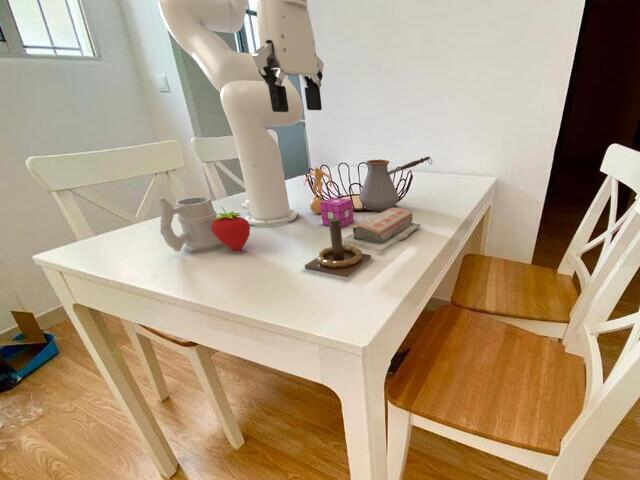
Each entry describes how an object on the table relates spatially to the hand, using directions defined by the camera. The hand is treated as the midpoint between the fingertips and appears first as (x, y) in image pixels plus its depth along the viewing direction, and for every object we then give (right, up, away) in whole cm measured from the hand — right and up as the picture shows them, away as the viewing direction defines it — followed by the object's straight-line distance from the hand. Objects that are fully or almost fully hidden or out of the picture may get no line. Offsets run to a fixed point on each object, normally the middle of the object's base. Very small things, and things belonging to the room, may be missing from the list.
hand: (298, 110), depth 65 cm
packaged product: (+15, -22, +15) cm, 31 cm away
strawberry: (-15, -26, +7) cm, 31 cm away
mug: (-24, -26, +8) cm, 36 cm away
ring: (+8, -27, +1) cm, 28 cm away
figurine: (-4, -13, +31) cm, 34 cm away
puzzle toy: (+3, -18, +23) cm, 29 cm away
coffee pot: (+17, -12, +34) cm, 40 cm away
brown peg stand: (+8, -29, +1) cm, 30 cm away
